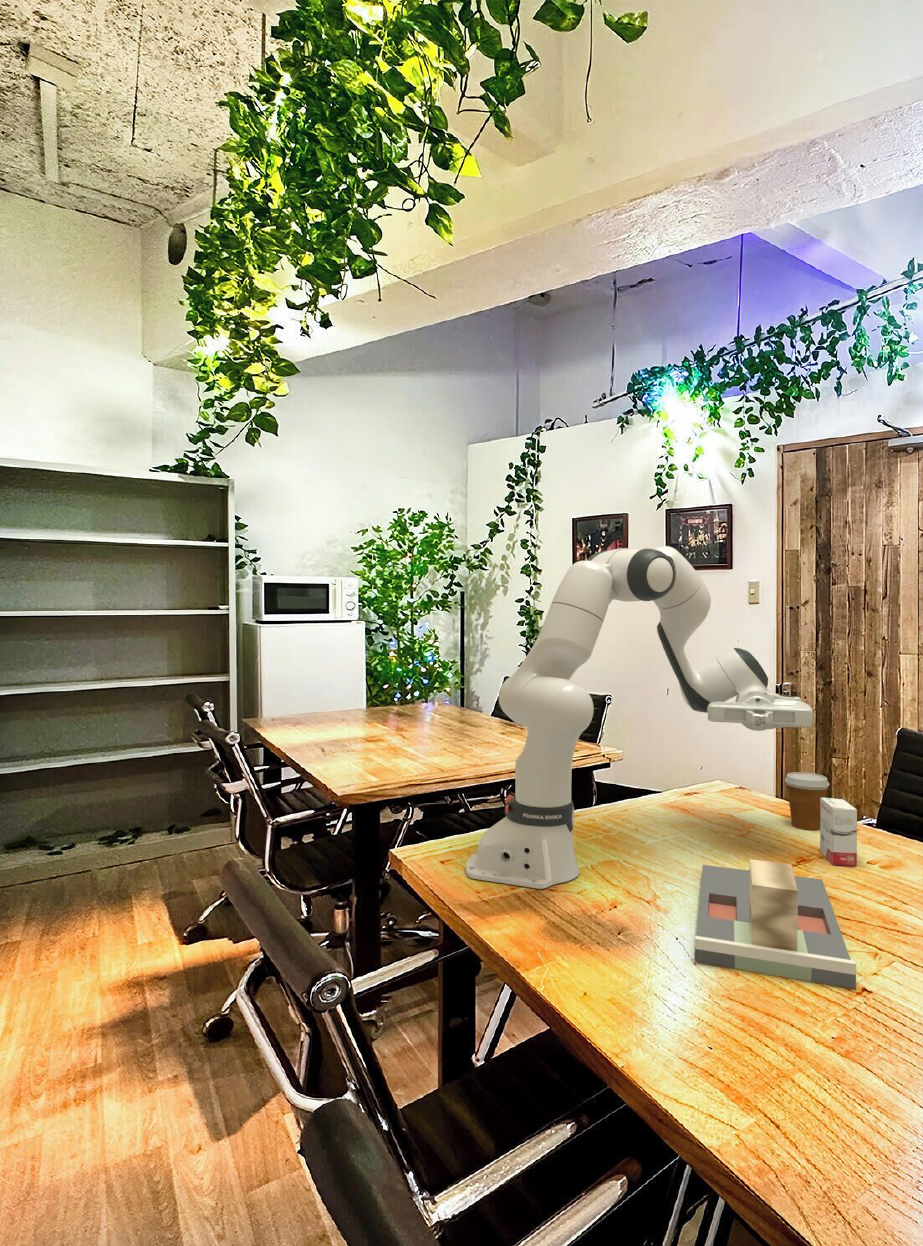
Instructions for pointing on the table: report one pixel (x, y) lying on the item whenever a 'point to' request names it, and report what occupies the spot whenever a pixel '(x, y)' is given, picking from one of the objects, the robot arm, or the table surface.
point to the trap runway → (730, 947)
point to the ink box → (838, 831)
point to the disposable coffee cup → (806, 798)
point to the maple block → (773, 905)
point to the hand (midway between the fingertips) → (760, 719)
